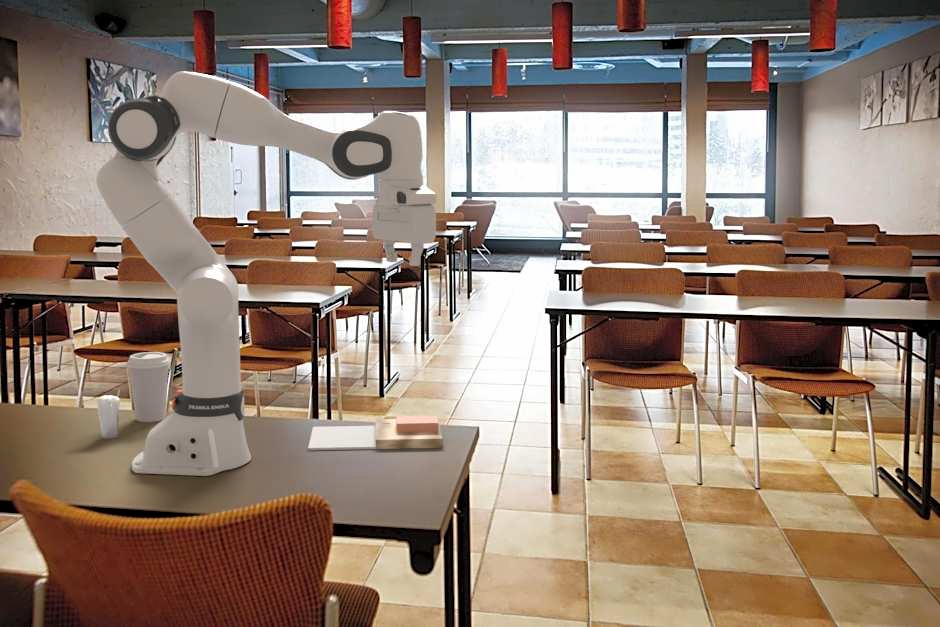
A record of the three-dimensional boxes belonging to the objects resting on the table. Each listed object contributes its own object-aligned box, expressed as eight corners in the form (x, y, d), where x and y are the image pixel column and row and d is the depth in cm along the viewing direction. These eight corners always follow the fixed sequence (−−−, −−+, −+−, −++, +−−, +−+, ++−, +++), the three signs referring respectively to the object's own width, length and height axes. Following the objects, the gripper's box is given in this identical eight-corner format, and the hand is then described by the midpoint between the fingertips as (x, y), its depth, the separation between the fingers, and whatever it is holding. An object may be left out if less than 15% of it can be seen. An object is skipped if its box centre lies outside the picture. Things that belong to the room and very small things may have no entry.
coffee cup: (149, 411, 218) (146, 349, 215) (181, 415, 214) (178, 353, 212) (119, 421, 209) (116, 357, 207) (152, 426, 205) (149, 361, 203)
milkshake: (128, 435, 198) (126, 390, 197) (107, 440, 194) (105, 395, 192) (115, 431, 201) (113, 387, 199) (94, 437, 196) (91, 392, 195)
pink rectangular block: (396, 432, 195) (396, 423, 195) (396, 425, 201) (396, 416, 201) (438, 431, 196) (438, 422, 196) (436, 424, 202) (436, 415, 202)
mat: (308, 450, 189) (308, 448, 189) (313, 428, 205) (313, 426, 205) (375, 449, 190) (375, 446, 190) (375, 427, 206) (375, 425, 206)
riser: (375, 449, 190) (375, 439, 190) (375, 427, 206) (375, 419, 206) (442, 447, 192) (442, 438, 192) (437, 426, 208) (437, 418, 207)
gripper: (363, 194, 188) (365, 260, 190) (412, 196, 171) (414, 269, 173) (390, 193, 191) (392, 258, 194) (441, 195, 174) (442, 266, 177)
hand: (403, 263), depth 183 cm, fingers open, 8 cm apart
